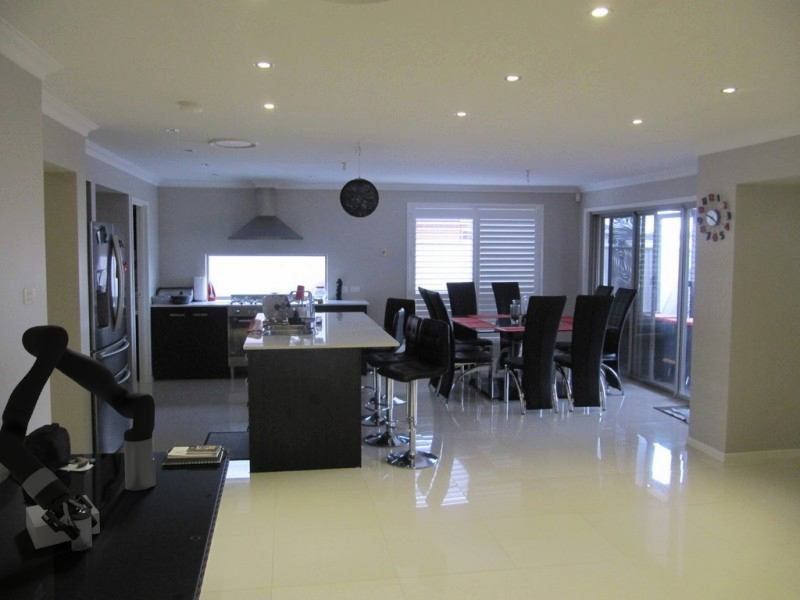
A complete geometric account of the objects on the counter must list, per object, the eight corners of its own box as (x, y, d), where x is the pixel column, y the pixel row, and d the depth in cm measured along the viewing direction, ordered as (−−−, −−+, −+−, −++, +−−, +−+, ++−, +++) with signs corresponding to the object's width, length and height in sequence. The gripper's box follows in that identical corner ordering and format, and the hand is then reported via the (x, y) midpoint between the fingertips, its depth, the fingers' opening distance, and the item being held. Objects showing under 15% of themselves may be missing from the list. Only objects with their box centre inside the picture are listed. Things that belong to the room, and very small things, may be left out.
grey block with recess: (86, 513, 189) (85, 494, 189) (99, 532, 175) (99, 512, 175) (26, 527, 180) (25, 507, 179) (35, 549, 165) (35, 527, 165)
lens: (90, 541, 170) (89, 506, 169) (94, 548, 166) (93, 512, 165) (69, 547, 167) (68, 511, 166) (73, 553, 163) (71, 517, 162)
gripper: (35, 488, 159) (78, 533, 158) (71, 470, 173) (110, 512, 172) (17, 507, 160) (60, 552, 159) (54, 488, 174) (93, 529, 173)
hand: (86, 531), depth 166 cm, fingers open, 7 cm apart
